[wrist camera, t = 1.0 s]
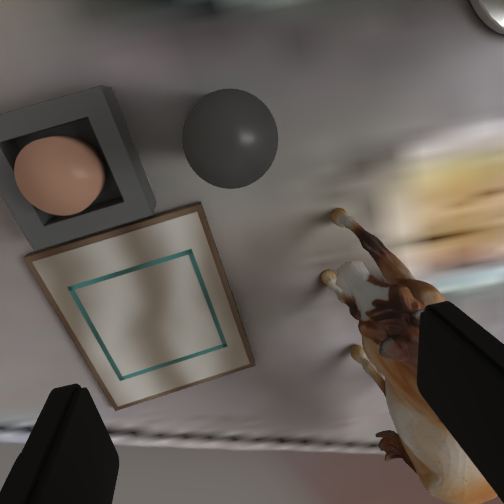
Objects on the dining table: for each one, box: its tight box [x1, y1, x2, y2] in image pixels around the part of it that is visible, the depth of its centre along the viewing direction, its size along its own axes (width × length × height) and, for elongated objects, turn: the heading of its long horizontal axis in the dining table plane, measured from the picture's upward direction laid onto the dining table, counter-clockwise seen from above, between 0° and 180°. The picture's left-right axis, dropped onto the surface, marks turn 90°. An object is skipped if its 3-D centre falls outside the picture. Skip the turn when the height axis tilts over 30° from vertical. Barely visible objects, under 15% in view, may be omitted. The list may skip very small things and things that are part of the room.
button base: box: [0, 86, 156, 251], centre depth 26 cm, size 9×9×4 cm
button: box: [14, 135, 106, 216], centre depth 24 cm, size 5×5×2 cm
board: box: [24, 202, 255, 411], centre depth 33 cm, size 15×18×1 cm
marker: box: [183, 89, 278, 189], centre depth 23 cm, size 5×5×12 cm
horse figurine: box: [321, 208, 498, 504], centre depth 28 cm, size 31×8×21 cm, turn 24°
